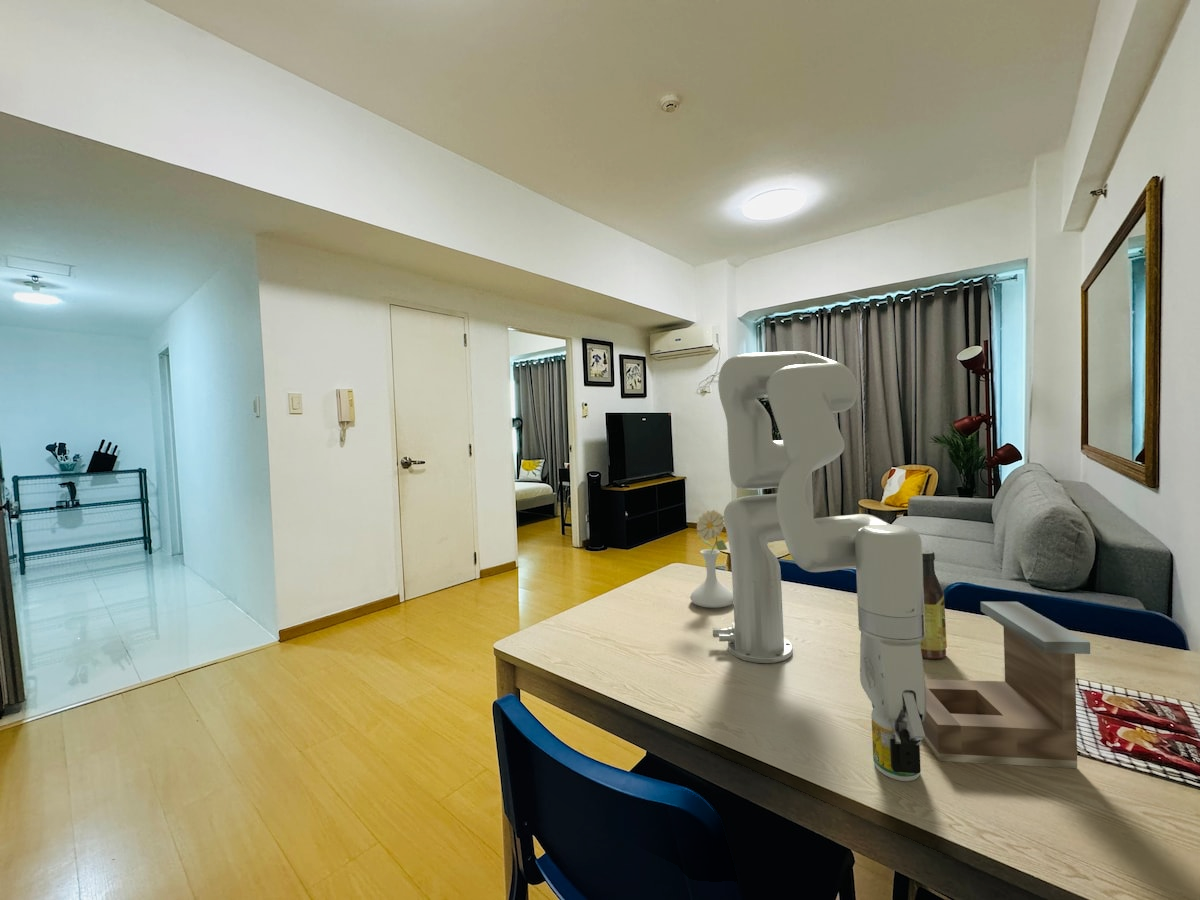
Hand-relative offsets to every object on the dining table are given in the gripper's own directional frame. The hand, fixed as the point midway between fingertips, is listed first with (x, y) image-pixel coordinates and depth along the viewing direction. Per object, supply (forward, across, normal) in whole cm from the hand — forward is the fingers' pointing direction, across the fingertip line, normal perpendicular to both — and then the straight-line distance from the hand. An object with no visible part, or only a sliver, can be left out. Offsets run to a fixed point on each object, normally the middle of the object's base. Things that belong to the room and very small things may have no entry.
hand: (895, 753), depth 65 cm
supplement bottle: (+2, 0, 0) cm, 2 cm away
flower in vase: (+2, -59, -21) cm, 63 cm away
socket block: (+2, -8, +15) cm, 17 cm away
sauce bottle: (+2, -34, +18) cm, 39 cm away
